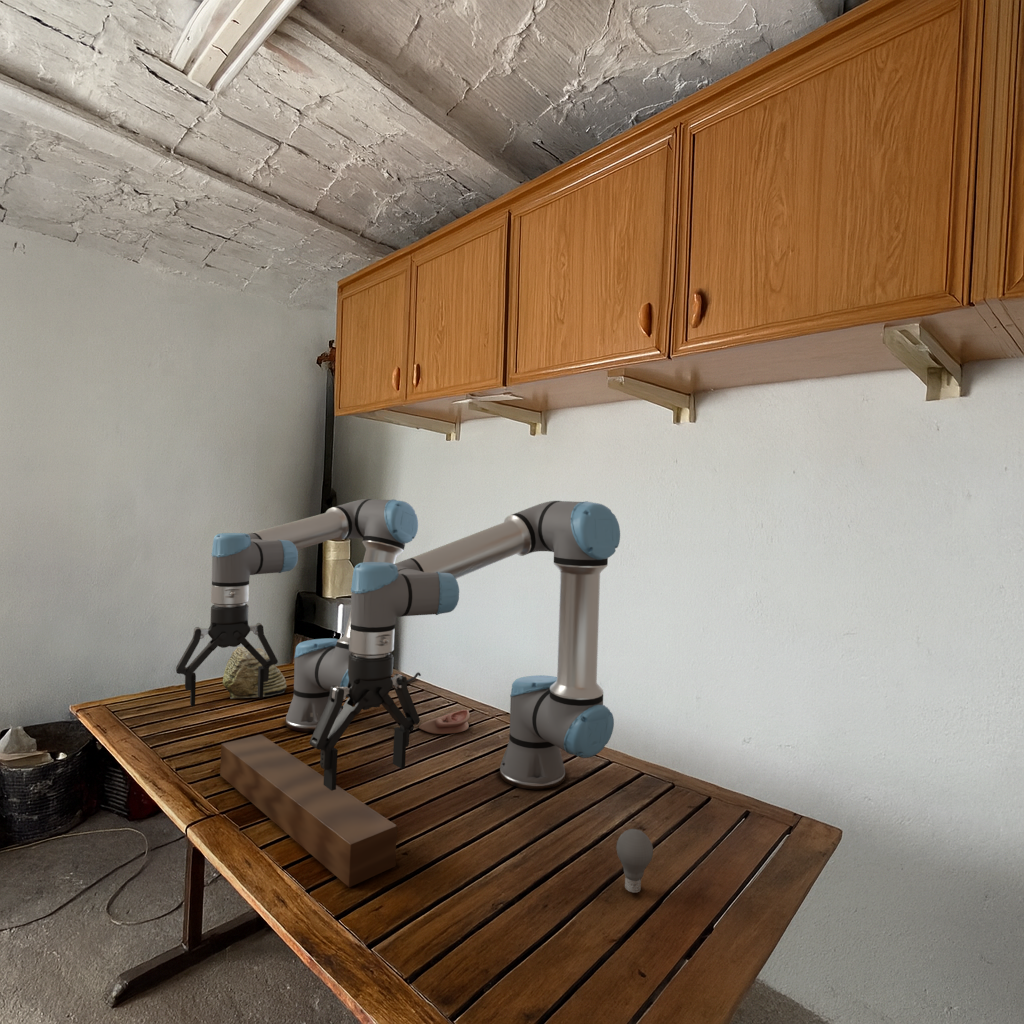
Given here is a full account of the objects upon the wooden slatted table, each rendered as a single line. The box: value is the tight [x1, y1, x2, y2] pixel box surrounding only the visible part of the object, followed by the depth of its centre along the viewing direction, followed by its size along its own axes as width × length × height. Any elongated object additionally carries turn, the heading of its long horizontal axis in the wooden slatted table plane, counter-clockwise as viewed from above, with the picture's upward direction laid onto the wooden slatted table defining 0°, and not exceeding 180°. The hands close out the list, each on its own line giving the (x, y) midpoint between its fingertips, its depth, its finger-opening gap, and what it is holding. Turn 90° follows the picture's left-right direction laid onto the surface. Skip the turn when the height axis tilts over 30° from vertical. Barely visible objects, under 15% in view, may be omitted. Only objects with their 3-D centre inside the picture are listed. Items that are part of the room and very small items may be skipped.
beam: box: [219, 734, 398, 888], centre depth 126 cm, size 55×9×7 cm, turn 45°
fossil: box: [222, 646, 288, 699], centre depth 198 cm, size 9×18×15 cm, turn 132°
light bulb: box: [615, 828, 654, 894], centre depth 106 cm, size 6×6×10 cm
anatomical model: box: [418, 709, 471, 735], centre depth 177 cm, size 13×4×12 cm
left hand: (227, 700), depth 139 cm, fingers open, 13 cm apart
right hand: (365, 776), depth 109 cm, fingers open, 13 cm apart
